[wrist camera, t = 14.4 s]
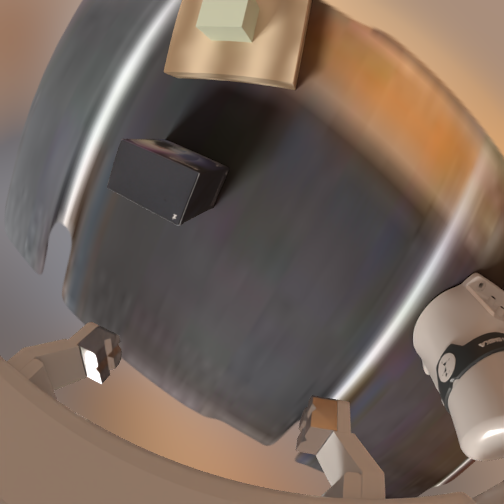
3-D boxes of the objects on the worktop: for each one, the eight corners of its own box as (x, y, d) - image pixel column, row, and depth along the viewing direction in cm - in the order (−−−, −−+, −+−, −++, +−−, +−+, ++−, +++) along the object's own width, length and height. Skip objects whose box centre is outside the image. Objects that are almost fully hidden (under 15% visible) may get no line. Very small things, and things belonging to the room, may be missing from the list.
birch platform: (312, 0, 27) (310, -14, 23) (295, 90, 32) (292, 83, 28) (198, -5, 29) (187, -16, 25) (177, 77, 34) (163, 72, 30)
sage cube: (259, 8, 25) (250, -10, 21) (252, 42, 27) (241, 27, 23) (219, 7, 26) (205, -10, 22) (211, 40, 28) (195, 26, 23)
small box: (232, 165, 37) (202, 171, 27) (213, 209, 39) (180, 230, 30) (165, 136, 37) (120, 136, 28) (150, 178, 40) (104, 190, 30)
